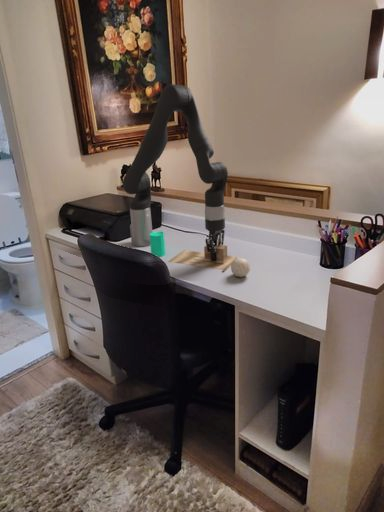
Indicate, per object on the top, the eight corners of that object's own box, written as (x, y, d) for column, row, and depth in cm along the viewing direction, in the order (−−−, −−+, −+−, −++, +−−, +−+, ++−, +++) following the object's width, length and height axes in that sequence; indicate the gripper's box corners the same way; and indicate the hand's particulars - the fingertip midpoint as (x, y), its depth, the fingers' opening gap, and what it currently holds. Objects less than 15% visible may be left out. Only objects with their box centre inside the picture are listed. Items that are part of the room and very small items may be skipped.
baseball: (234, 281, 136) (234, 263, 133) (228, 273, 142) (228, 256, 140) (253, 278, 137) (253, 261, 134) (246, 271, 143) (246, 254, 141)
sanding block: (204, 261, 151) (204, 246, 149) (208, 257, 155) (208, 243, 152) (223, 263, 148) (223, 249, 146) (227, 260, 151) (227, 245, 149)
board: (168, 264, 153) (167, 261, 153) (184, 252, 165) (183, 250, 165) (223, 272, 143) (223, 269, 143) (236, 259, 155) (236, 256, 154)
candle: (168, 255, 163) (166, 228, 159) (161, 260, 158) (159, 232, 154) (156, 253, 166) (153, 227, 161) (148, 258, 161) (146, 231, 156)
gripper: (213, 211, 152) (214, 251, 158) (197, 220, 140) (199, 264, 147) (230, 212, 149) (231, 253, 155) (216, 222, 137) (217, 266, 143)
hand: (215, 258), depth 151 cm, fingers closed on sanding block, 4 cm apart
